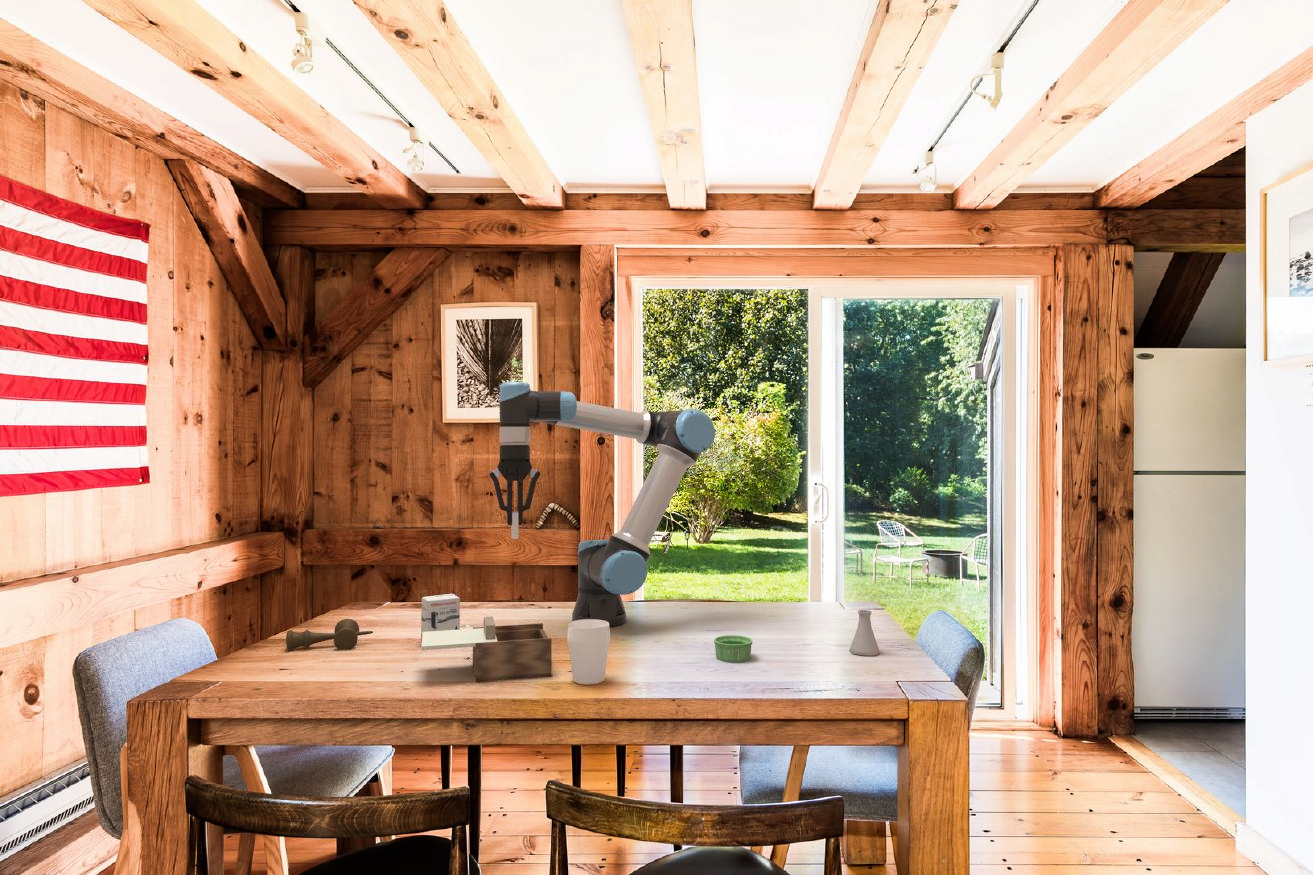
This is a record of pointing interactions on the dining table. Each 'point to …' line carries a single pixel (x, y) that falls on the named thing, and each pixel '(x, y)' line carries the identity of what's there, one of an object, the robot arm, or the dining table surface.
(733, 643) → the ramekin
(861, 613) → the flask
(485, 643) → the box
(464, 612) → the dining table surface
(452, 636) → the lid
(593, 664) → the cup
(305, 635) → the kendama
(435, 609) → the ink box
